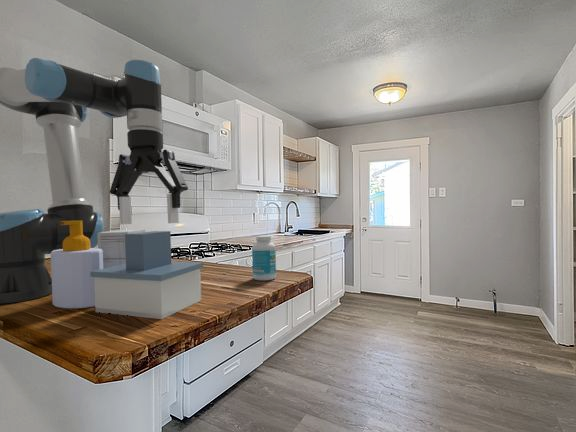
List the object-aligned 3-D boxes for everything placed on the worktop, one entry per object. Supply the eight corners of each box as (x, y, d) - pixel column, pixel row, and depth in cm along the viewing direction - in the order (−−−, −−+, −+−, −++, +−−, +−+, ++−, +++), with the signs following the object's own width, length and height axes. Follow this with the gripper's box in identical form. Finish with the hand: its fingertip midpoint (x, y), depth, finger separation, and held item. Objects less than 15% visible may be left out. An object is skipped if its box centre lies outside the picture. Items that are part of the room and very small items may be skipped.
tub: (95, 312, 71) (94, 276, 71) (142, 295, 85) (141, 265, 84) (162, 319, 66) (160, 280, 65) (201, 300, 79) (200, 267, 79)
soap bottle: (41, 307, 76) (37, 221, 76) (73, 297, 84) (70, 220, 84) (85, 310, 73) (82, 221, 72) (114, 300, 81) (111, 219, 80)
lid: (90, 283, 71) (88, 235, 71) (141, 270, 85) (140, 230, 85) (161, 288, 65) (159, 235, 65) (203, 273, 79) (202, 230, 79)
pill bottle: (275, 281, 98) (274, 236, 98) (251, 281, 98) (250, 237, 98) (276, 275, 105) (275, 234, 105) (254, 276, 105) (253, 235, 105)
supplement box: (149, 284, 97) (147, 229, 97) (131, 292, 88) (129, 231, 87) (119, 284, 98) (117, 229, 98) (98, 292, 89) (96, 232, 88)
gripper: (90, 134, 75) (94, 225, 75) (180, 121, 67) (184, 223, 67) (116, 140, 82) (120, 223, 82) (201, 129, 74) (204, 221, 74)
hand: (149, 223), depth 75 cm, fingers open, 13 cm apart
